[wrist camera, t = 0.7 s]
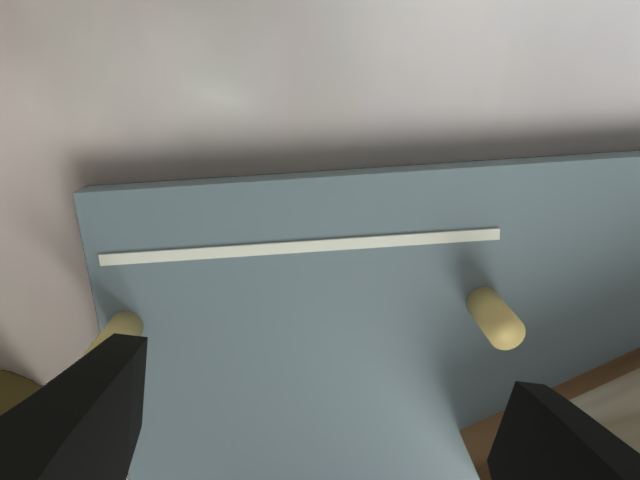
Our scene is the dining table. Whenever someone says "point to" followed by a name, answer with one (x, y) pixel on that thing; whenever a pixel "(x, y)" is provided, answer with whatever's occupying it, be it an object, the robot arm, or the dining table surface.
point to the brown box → (590, 396)
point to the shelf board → (359, 307)
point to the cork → (14, 390)
